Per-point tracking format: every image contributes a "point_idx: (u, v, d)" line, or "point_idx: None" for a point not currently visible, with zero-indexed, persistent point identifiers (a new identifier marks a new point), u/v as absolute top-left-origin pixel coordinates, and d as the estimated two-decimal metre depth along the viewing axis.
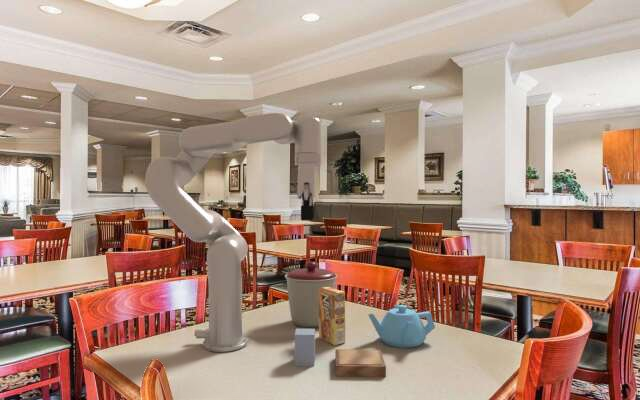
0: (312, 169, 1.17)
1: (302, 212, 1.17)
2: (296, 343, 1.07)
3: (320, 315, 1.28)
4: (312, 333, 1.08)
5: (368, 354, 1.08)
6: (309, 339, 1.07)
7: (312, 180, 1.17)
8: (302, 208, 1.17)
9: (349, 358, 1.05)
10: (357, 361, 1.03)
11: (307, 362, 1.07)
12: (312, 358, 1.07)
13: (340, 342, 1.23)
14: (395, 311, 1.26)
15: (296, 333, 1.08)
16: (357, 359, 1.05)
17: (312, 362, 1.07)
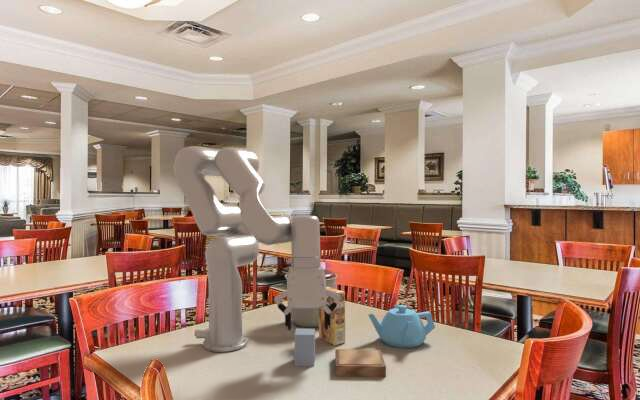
0: None
1: None
2: (296, 343, 1.07)
3: (320, 315, 1.28)
4: (312, 333, 1.08)
5: (368, 354, 1.08)
6: (309, 339, 1.07)
7: None
8: (327, 316, 1.08)
9: (349, 358, 1.05)
10: (357, 361, 1.03)
11: (307, 362, 1.07)
12: (312, 358, 1.07)
13: (340, 342, 1.23)
14: (395, 311, 1.26)
15: (296, 333, 1.08)
16: (357, 359, 1.05)
17: (312, 362, 1.07)
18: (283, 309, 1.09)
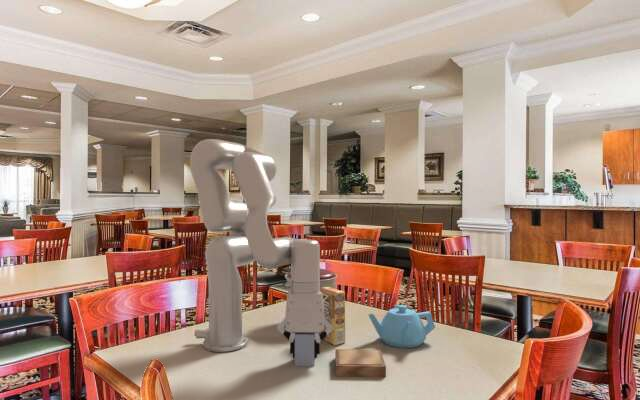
0: None
1: (316, 349, 1.09)
2: (296, 343, 1.07)
3: None
4: (312, 333, 1.08)
5: (368, 354, 1.08)
6: (309, 339, 1.07)
7: None
8: (316, 345, 1.09)
9: (349, 358, 1.05)
10: (357, 361, 1.03)
11: (307, 362, 1.07)
12: (312, 358, 1.07)
13: (340, 342, 1.23)
14: (395, 311, 1.26)
15: (296, 333, 1.08)
16: (357, 359, 1.05)
17: (312, 362, 1.07)
18: (287, 338, 1.09)
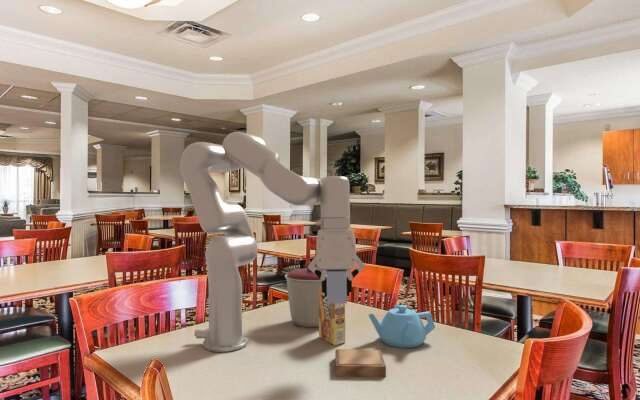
0: None
1: (349, 287, 1.06)
2: (328, 280, 1.05)
3: (320, 315, 1.28)
4: (344, 270, 1.06)
5: (368, 354, 1.08)
6: (341, 276, 1.05)
7: None
8: (349, 283, 1.06)
9: (349, 358, 1.05)
10: (357, 361, 1.03)
11: (340, 300, 1.05)
12: (345, 295, 1.05)
13: (340, 342, 1.23)
14: (395, 311, 1.26)
15: (327, 271, 1.06)
16: (357, 359, 1.05)
17: (345, 299, 1.05)
18: (319, 276, 1.07)
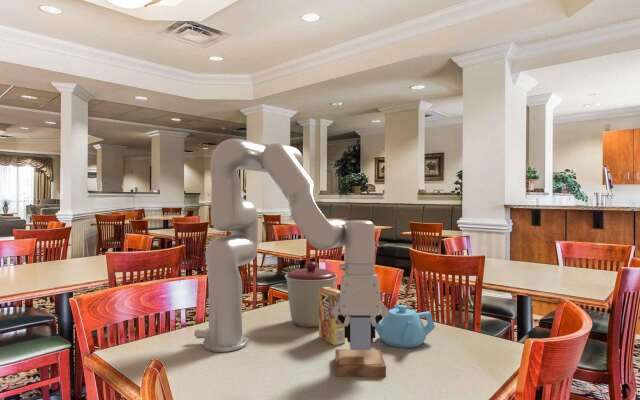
0: None
1: (372, 333, 1.05)
2: (352, 326, 1.04)
3: (320, 315, 1.28)
4: (368, 316, 1.05)
5: (368, 354, 1.08)
6: (365, 322, 1.04)
7: None
8: (372, 329, 1.05)
9: (349, 358, 1.05)
10: (357, 361, 1.03)
11: (364, 346, 1.04)
12: (368, 342, 1.04)
13: (340, 342, 1.23)
14: (395, 311, 1.26)
15: (351, 316, 1.05)
16: (357, 359, 1.05)
17: (368, 346, 1.04)
18: (342, 321, 1.06)
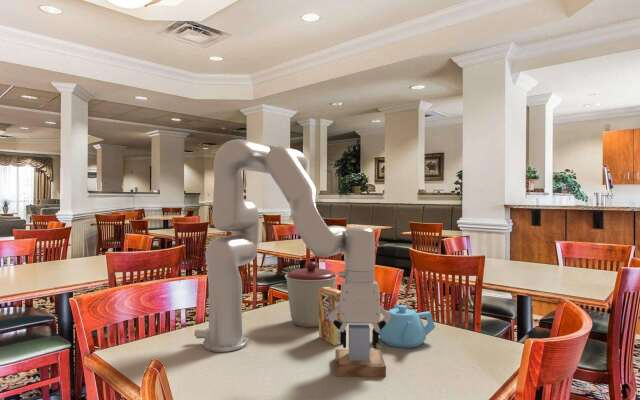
0: None
1: (376, 339, 1.05)
2: (351, 337, 1.04)
3: (320, 315, 1.28)
4: (367, 327, 1.05)
5: None
6: (364, 333, 1.04)
7: None
8: (376, 335, 1.05)
9: None
10: (357, 361, 1.03)
11: (363, 357, 1.04)
12: (367, 352, 1.04)
13: None
14: (395, 311, 1.26)
15: (350, 327, 1.05)
16: None
17: (367, 357, 1.04)
18: (338, 326, 1.06)
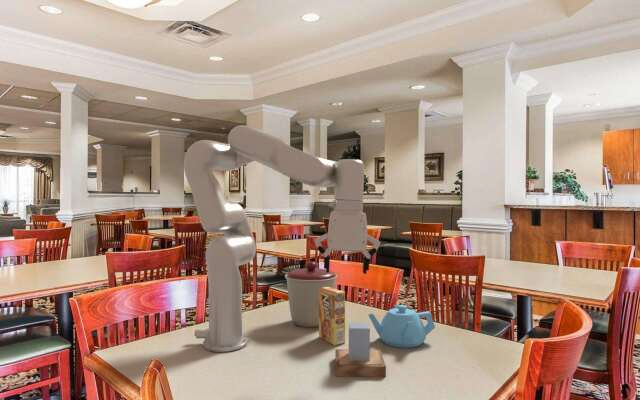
0: None
1: None
2: (351, 337, 1.04)
3: (320, 315, 1.28)
4: (367, 327, 1.05)
5: None
6: (364, 333, 1.04)
7: None
8: None
9: None
10: (357, 361, 1.03)
11: (363, 357, 1.04)
12: (367, 352, 1.04)
13: (340, 342, 1.23)
14: (395, 311, 1.26)
15: (350, 327, 1.05)
16: None
17: (367, 357, 1.04)
18: (322, 251, 1.09)
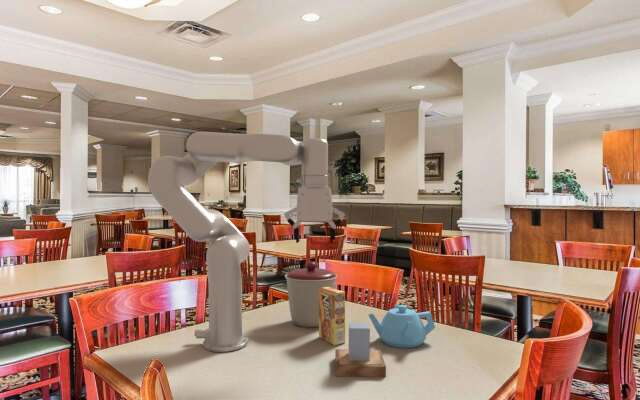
0: None
1: (332, 235, 1.18)
2: (351, 337, 1.04)
3: (320, 315, 1.28)
4: (367, 327, 1.05)
5: None
6: (364, 333, 1.04)
7: None
8: (332, 231, 1.18)
9: None
10: (357, 361, 1.03)
11: (363, 357, 1.04)
12: (367, 352, 1.04)
13: (340, 342, 1.23)
14: (395, 311, 1.26)
15: (350, 327, 1.05)
16: None
17: (367, 357, 1.04)
18: (292, 223, 1.19)
